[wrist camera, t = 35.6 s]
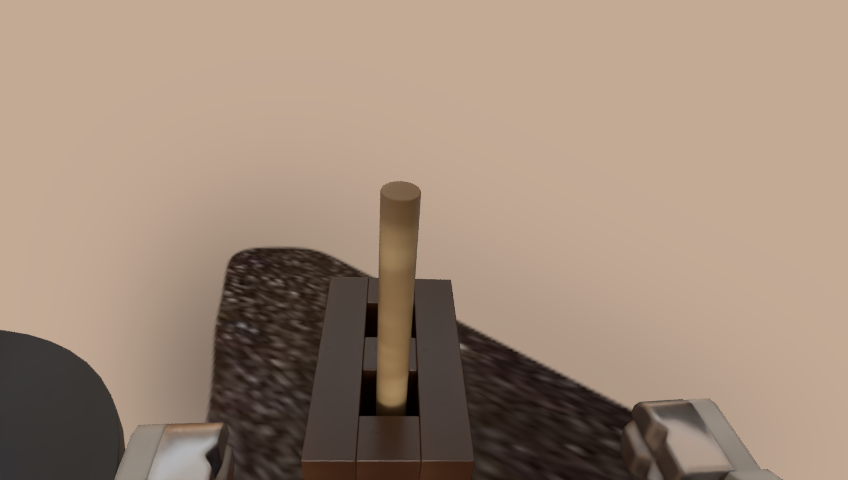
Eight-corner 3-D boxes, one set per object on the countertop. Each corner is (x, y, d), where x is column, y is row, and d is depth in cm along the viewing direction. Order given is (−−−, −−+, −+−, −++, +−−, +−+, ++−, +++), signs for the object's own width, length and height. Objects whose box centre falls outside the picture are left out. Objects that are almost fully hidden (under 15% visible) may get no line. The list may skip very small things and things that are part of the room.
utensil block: (310, 549, 29) (300, 460, 24) (334, 361, 40) (330, 276, 36) (457, 547, 29) (475, 460, 25) (441, 362, 41) (450, 279, 36)
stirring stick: (373, 494, 32) (379, 199, 20) (374, 469, 33) (381, 180, 22) (401, 494, 32) (421, 201, 21) (400, 469, 33) (420, 181, 22)
